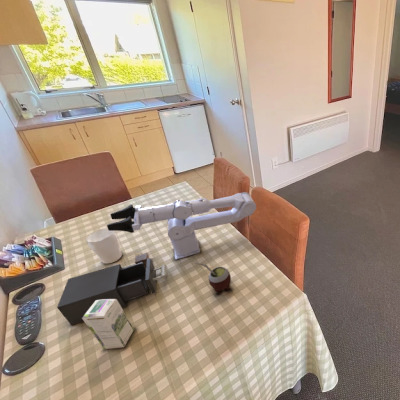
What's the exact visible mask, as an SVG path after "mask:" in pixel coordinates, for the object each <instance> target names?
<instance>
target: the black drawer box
mask: <svg viewBox="0 0 400 400" xmlns="http://www.w3.org/2000/svg"><path fill="white" fill-rule="evenodd" d="M121 268H123V267H122V265H121V263H119V264H115V265H111V266H108V267H105V268H101V269H97V270H94V271H90V272H87V273H83V274H80V275H76V276H74V277H71V278H68V279H67V281H66V284H65V287H64V288H63V290H62V294H61V296H60V298H59V301H58V304H57V306H56V308H57V309H58V311H59V312H60V314H61V315H62V316H63V317H64V318H65V320H66V321H67V322H68V323H69V324H70V326H74V325H77V324H79V323H82V322H84V320H83V319H82V317H83V316H84V315H85V314H86V312H87V311H88V310H89V308H90V307H91V306H92V304H93V303H94V302H95V301H96V300H102V299H117V301H118V302H119V304H120V306H121V308H122V309H123V308H126V306H127V301H123V299H122V297H121V296H120V294H119V292H118V291H117V283H118V278H119V272H120V269H121Z"/></svg>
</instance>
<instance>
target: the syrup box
mask: <svg viewBox="0 0 400 400" xmlns="http://www.w3.org/2000/svg"><path fill="white" fill-rule="evenodd" d="M82 319H83V320H84V321H83V322H84V323H85V324H86V326H87V328H88V329H89V330H90V332H91V333H92V334H93V336H94V337H95V338H96V340H97V342H99V344H100V346H101V347H102V348H103V349H104V350H109V349H119V348H120V349H121V348H125V347H126V345H127V343H128V342H129V340H130V338H131V337H132V334H133V333H134V331H135V328H134V327H133V325H132V323H131V321H130V320H129V318H128V316H127V315H126V313H125V311H124V309H123V308H121V306H120V304H119V302H118V301H117V299H102V300H96V301H95V302H94V303H93V304H92V306H91V307H90V308H89V310H88V311H87V312H86V314H85V315H84V316H83V317H82Z"/></svg>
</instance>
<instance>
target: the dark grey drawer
mask: <svg viewBox="0 0 400 400" xmlns="http://www.w3.org/2000/svg"><path fill="white" fill-rule="evenodd" d="M160 270H161V272H160V273H161V275H159V276H157V271H160ZM167 273H168V272H167V264H162V265H161V266H160V267H157V268H156V267H155V265H154V263H153V261H152V259H151V258H150V257H149V259H147V261H146V268H145V266H144V264H143V262H141V263H138V264H135V263H134V264H131V265H128V266H125V267H122V268H121V269H120V272H119V278H118V283H117V291H118V292H119V294H120V296H121V297H122V299H123V301H126V302H127V301H129V300H133V299H135V298H138V297H141V296H144V295H147V294H148V293H149V291H150V293H151V295H153V294H156V293H157V280H160V279H163V280H164V279H167V276H168V274H167Z"/></svg>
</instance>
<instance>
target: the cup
mask: <svg viewBox="0 0 400 400" xmlns="http://www.w3.org/2000/svg"><path fill="white" fill-rule="evenodd" d="M85 242H86V243H87V245H88V247H89V249H90V250H91V251H92V252H93V253H94V254H95V255H96V257H98V259H99V260H100V262H102V264H112V263H114V262H117V261H118V260H120V259H121V257H122V256H123V253H122V250H121V246H120V242H119V240H118V236H117V234H116V233H115V231H109V230H108V227H105V228H100V229H97V230H94V231H92V232H91V233H89V234H87V236H86V237H85Z"/></svg>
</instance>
